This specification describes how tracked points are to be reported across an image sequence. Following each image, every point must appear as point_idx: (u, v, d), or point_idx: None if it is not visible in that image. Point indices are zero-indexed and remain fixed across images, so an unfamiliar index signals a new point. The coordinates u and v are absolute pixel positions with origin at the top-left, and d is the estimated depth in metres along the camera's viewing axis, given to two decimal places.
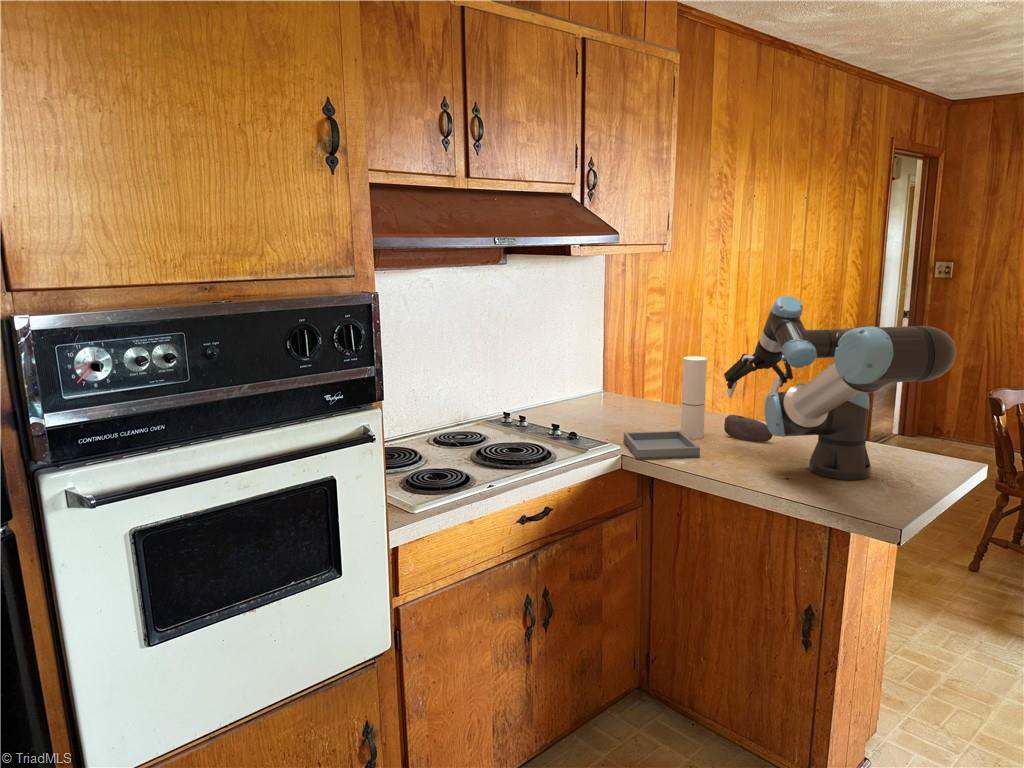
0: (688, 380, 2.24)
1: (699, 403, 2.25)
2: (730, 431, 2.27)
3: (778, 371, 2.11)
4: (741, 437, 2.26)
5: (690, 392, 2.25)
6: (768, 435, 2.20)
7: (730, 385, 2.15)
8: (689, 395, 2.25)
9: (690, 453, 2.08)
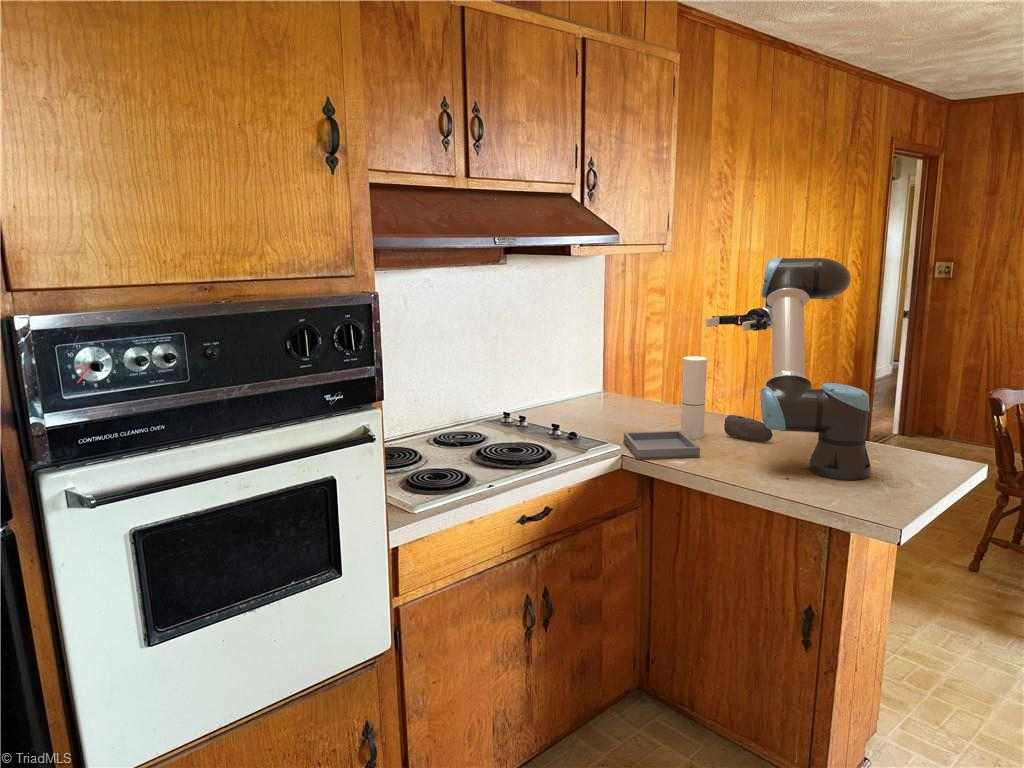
0: (688, 380, 2.24)
1: (699, 403, 2.25)
2: (730, 431, 2.27)
3: (756, 319, 2.37)
4: (741, 437, 2.26)
5: (690, 392, 2.25)
6: (768, 435, 2.21)
7: None
8: (689, 395, 2.25)
9: (690, 453, 2.08)
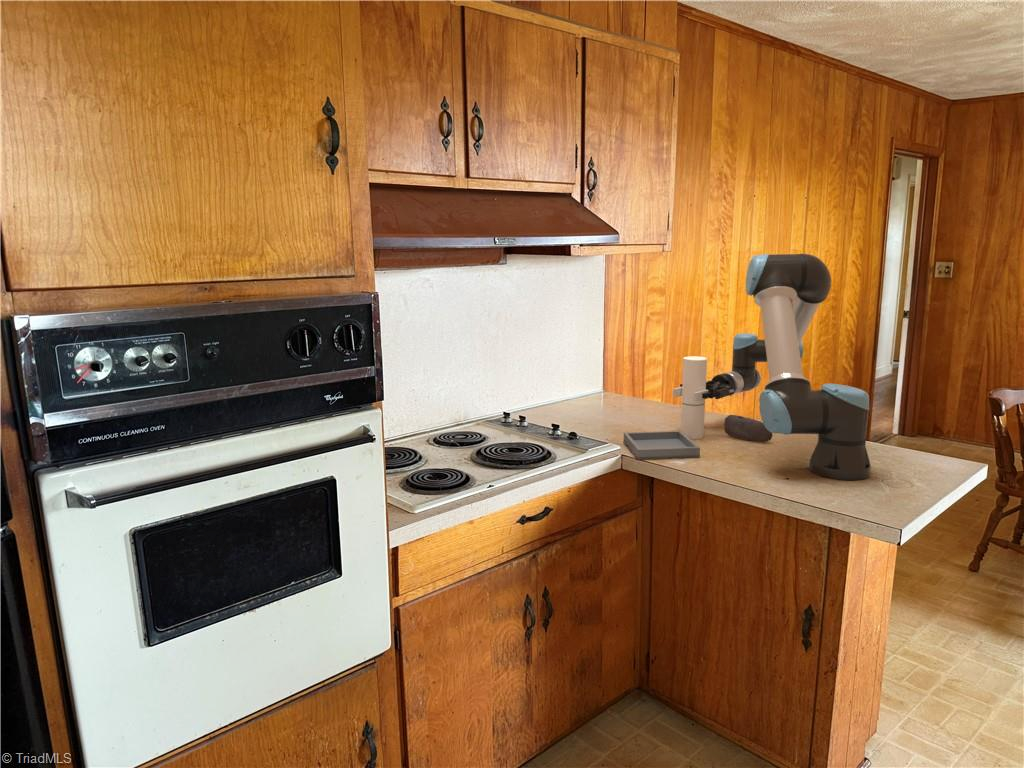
0: (688, 380, 2.24)
1: (699, 403, 2.25)
2: (730, 431, 2.27)
3: (715, 387, 2.29)
4: (741, 437, 2.26)
5: (690, 392, 2.25)
6: (768, 435, 2.20)
7: None
8: (689, 395, 2.25)
9: (690, 453, 2.08)
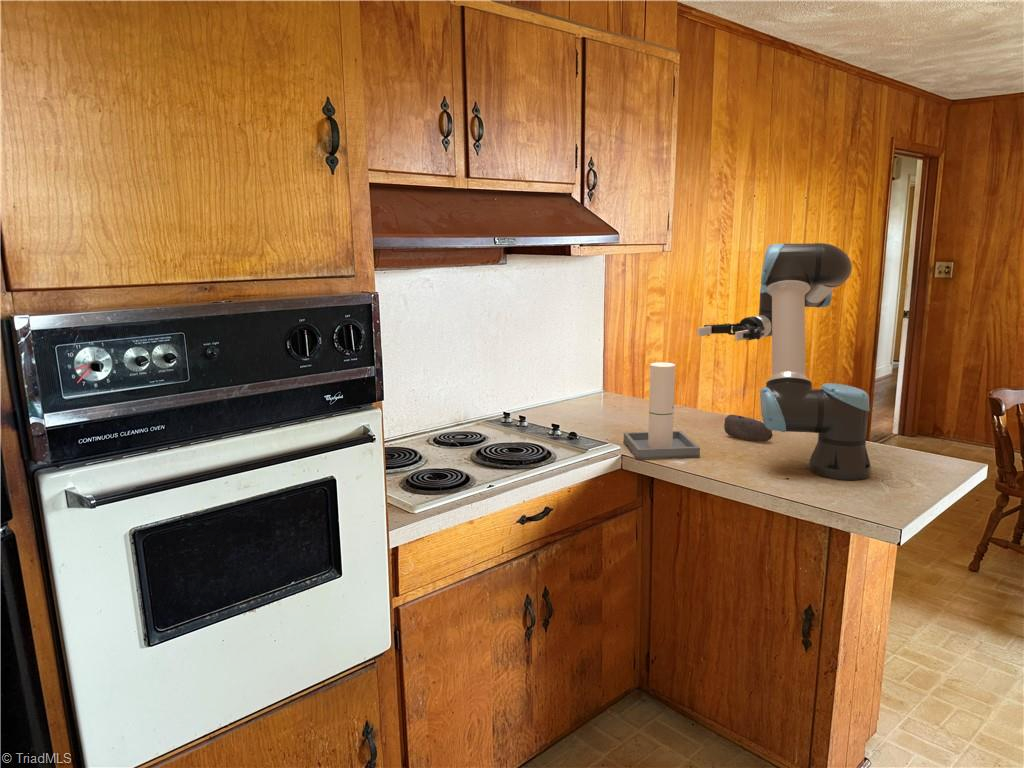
0: (655, 387, 2.10)
1: (667, 412, 2.11)
2: (730, 431, 2.27)
3: (749, 328, 2.30)
4: (741, 437, 2.26)
5: (657, 401, 2.11)
6: (768, 435, 2.20)
7: None
8: (656, 403, 2.11)
9: (690, 453, 2.08)
